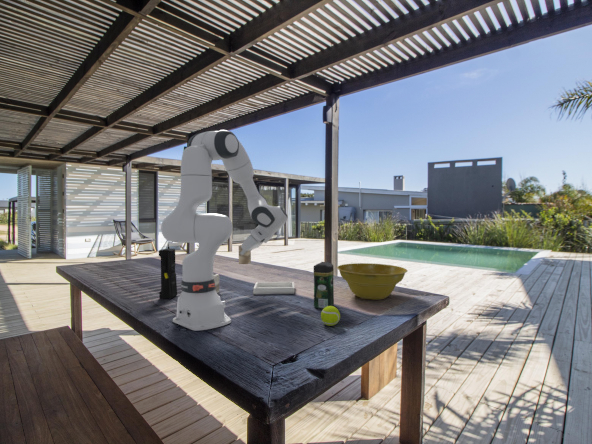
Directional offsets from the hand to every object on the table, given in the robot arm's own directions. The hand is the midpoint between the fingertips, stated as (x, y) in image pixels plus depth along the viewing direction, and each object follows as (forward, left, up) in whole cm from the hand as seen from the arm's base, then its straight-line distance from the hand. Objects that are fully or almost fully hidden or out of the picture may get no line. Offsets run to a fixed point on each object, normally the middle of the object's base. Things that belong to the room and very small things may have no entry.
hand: (243, 253), depth 157 cm
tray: (-7, -13, -19) cm, 25 cm away
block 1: (+9, +13, -19) cm, 25 cm away
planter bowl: (-45, -42, -20) cm, 65 cm away
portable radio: (+14, +33, -20) cm, 40 cm away
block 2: (0, 0, -5) cm, 5 cm away
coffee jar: (-43, -13, -20) cm, 49 cm away
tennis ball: (-61, +1, -20) cm, 64 cm away
